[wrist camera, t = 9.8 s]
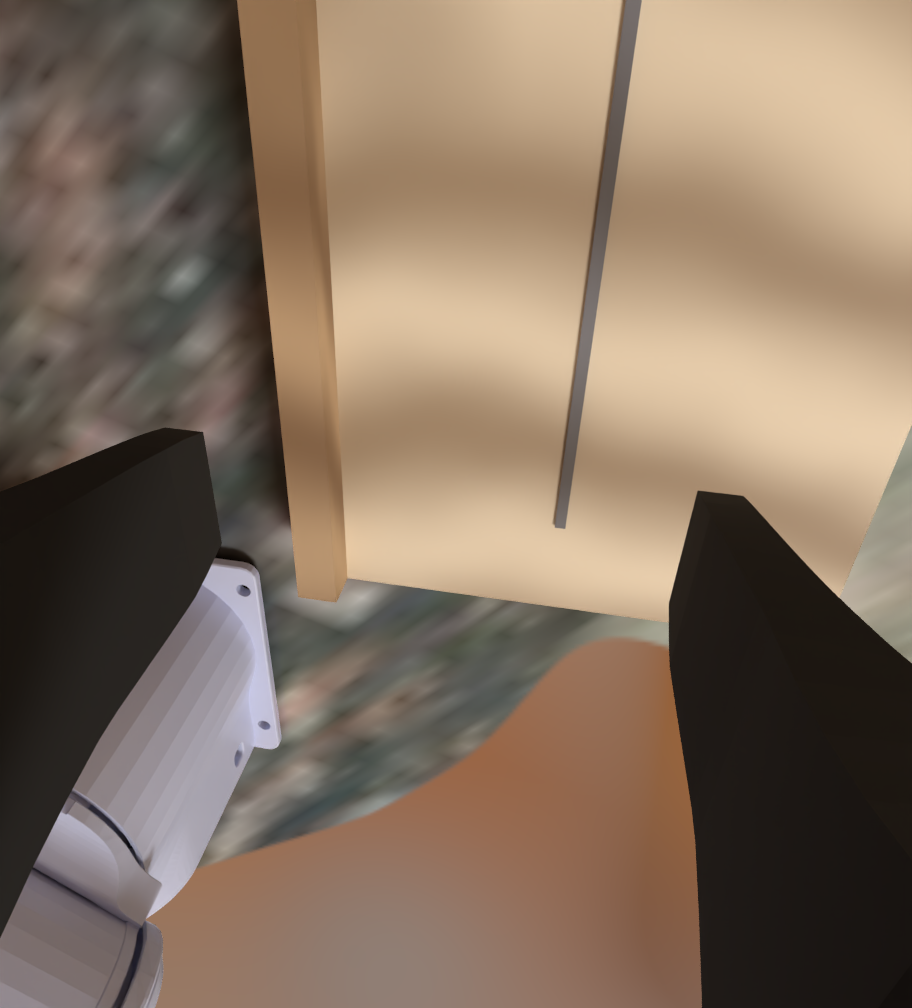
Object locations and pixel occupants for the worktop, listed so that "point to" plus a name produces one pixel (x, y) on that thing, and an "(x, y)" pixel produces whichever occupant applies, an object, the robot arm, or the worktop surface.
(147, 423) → the worktop surface
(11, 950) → the robot arm
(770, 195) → the board
